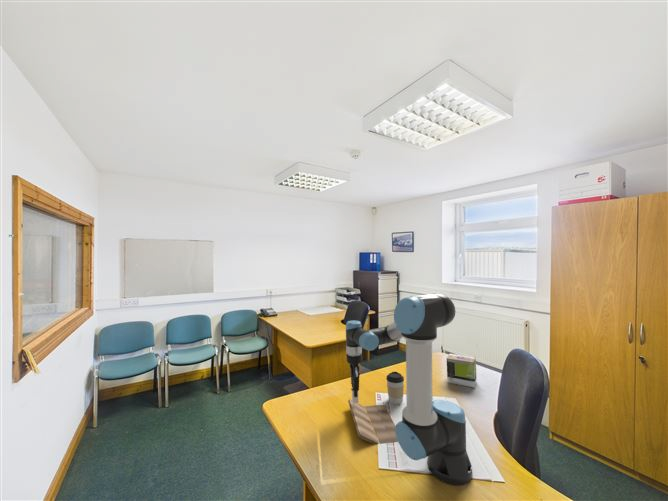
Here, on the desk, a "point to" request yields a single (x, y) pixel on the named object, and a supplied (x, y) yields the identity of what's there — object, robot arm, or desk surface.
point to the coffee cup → (395, 387)
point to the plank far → (358, 411)
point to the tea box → (461, 370)
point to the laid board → (382, 423)
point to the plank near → (365, 430)
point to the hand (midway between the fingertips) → (355, 402)
